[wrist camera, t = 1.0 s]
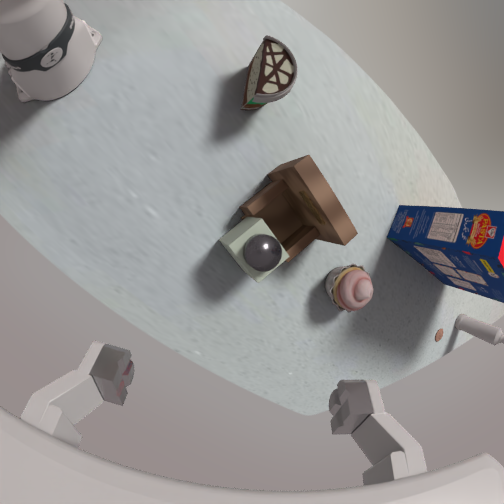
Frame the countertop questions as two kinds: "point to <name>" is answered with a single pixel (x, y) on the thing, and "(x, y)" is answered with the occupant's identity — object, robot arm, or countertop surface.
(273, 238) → the sliding knob
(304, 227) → the walnut mount
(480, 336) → the bottle
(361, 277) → the cupcake
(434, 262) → the pasta box
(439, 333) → the cookie
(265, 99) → the food container
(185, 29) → the countertop surface
